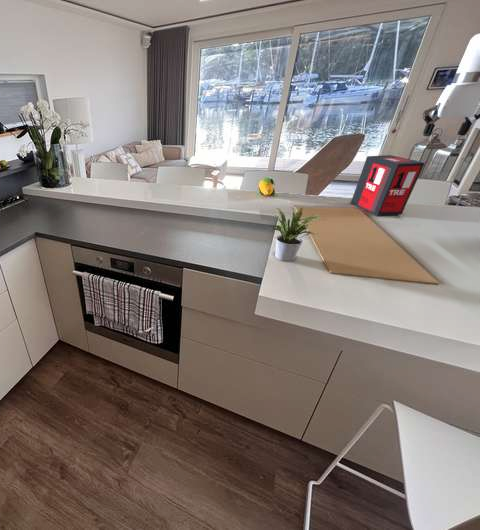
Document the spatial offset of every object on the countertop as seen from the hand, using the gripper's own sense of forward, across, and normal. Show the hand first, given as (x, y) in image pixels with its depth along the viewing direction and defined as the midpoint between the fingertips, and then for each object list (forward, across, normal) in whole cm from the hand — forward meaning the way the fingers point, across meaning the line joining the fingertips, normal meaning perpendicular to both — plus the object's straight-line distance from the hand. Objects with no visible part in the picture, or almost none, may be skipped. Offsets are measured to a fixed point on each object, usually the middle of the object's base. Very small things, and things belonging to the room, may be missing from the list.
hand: (443, 135), depth 103 cm
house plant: (+28, +52, +54) cm, 80 cm away
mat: (+28, +30, +31) cm, 51 cm away
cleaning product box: (+28, +12, 0) cm, 31 cm away
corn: (+28, +52, -16) cm, 61 cm away
